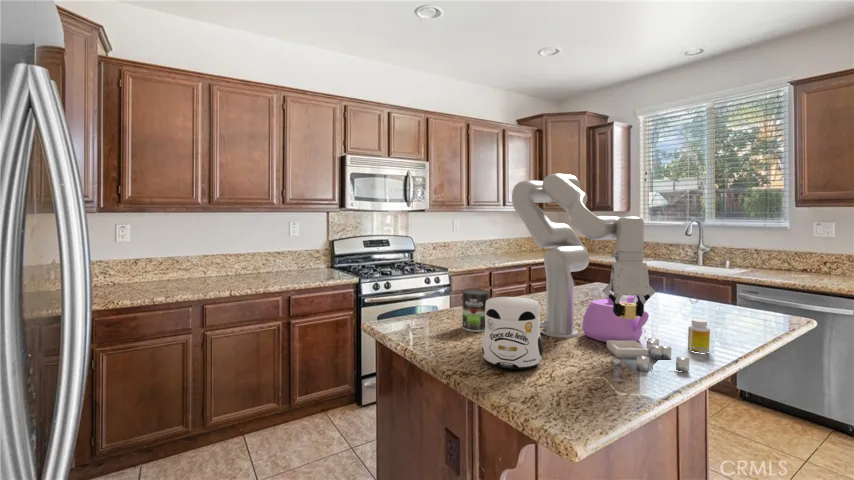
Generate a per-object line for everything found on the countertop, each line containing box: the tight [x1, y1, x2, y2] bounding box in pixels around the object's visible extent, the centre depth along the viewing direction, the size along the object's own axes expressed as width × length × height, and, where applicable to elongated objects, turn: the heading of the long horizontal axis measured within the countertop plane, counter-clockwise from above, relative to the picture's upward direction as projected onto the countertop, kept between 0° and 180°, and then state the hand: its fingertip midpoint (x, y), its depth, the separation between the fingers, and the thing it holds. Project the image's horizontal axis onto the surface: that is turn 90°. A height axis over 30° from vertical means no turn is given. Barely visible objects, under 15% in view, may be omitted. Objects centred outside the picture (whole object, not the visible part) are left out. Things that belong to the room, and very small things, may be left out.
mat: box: [614, 354, 658, 373], centre depth 121 cm, size 15×20×1 cm
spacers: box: [636, 337, 690, 373], centre depth 120 cm, size 14×20×4 cm
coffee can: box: [461, 289, 491, 333], centre depth 155 cm, size 10×10×14 cm
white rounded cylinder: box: [481, 296, 544, 370], centre depth 119 cm, size 17×17×18 cm
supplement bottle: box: [687, 318, 711, 353], centre depth 127 cm, size 6×6×10 cm
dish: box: [606, 340, 649, 358], centre depth 127 cm, size 9×9×2 cm
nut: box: [620, 302, 638, 319], centre depth 126 cm, size 6×5×4 cm
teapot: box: [581, 295, 649, 343], centre depth 141 cm, size 23×21×15 cm
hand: (628, 315), depth 126 cm, fingers closed on nut, 5 cm apart
